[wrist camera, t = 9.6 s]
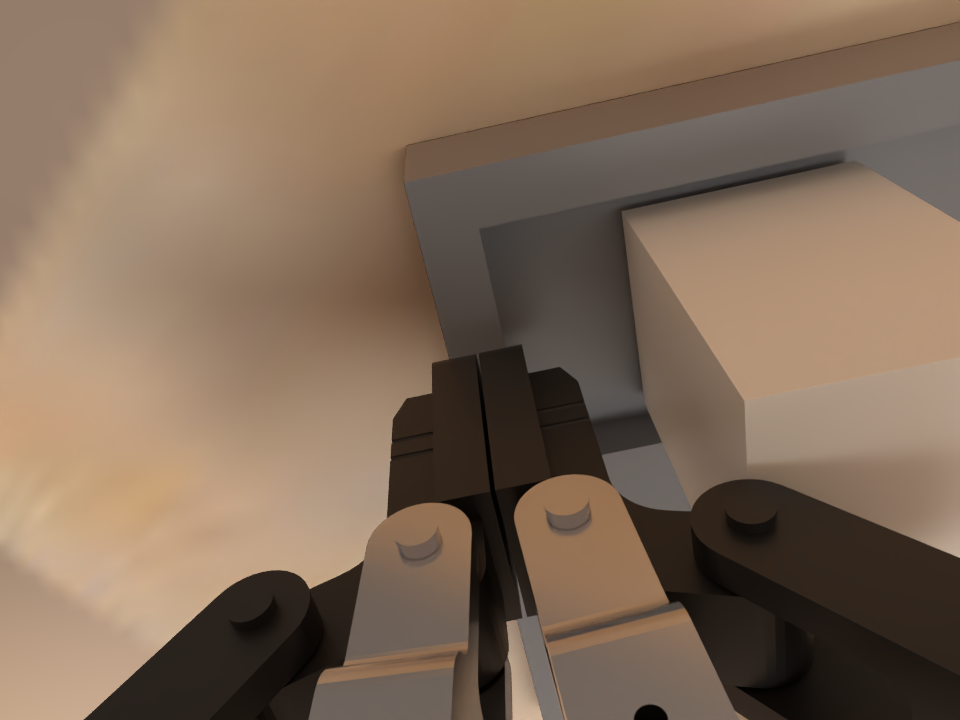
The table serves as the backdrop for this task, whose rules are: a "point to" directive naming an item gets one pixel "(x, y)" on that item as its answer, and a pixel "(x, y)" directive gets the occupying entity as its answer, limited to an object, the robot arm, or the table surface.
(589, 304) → the switch board
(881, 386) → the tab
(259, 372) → the table surface
